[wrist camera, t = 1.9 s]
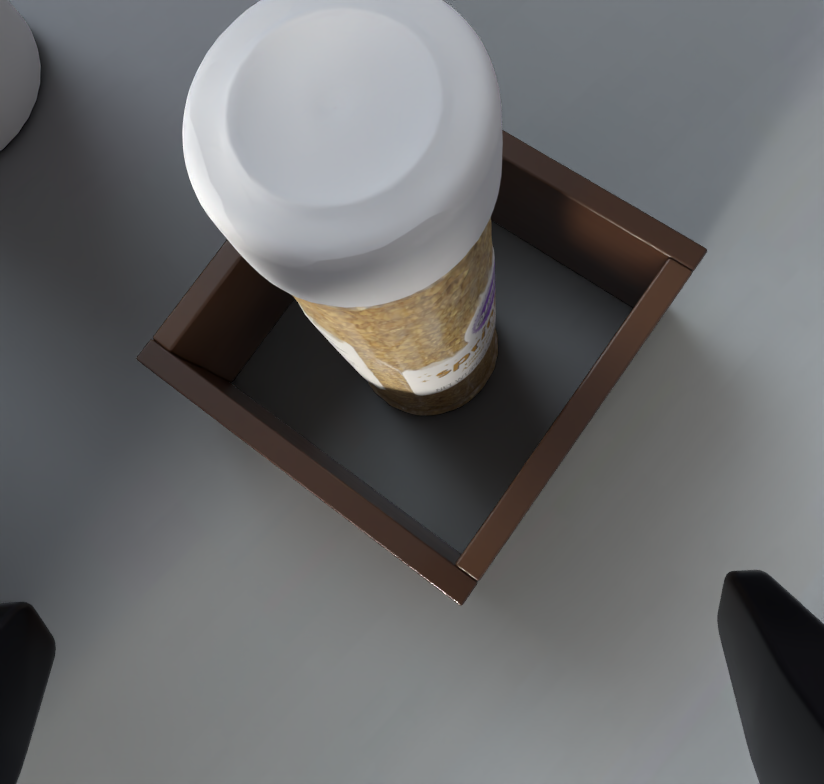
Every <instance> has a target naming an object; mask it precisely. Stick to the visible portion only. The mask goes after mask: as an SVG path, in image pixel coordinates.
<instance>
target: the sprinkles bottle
mask: <svg viewBox="0 0 824 784" xmlns="http://www.w3.org/2000/svg"><path fill="white" fill-rule="evenodd" d="M182 135H183V151H184V159H185V164H186V168H187V171H188V175H189V178H190V182H191V184H192V187H193V189H194V191H195V193H196V195H197V197H198V200H199V202H200V204H201V206H202V207H203V209H204V210H205V212H206V213H207V215H208V216H209V217H210V219H211V220H212V221H213V222H214V224H215V225H216V226H217V227H218V229H219V230H220V231H221V232H222V233H223V235H224V236H225V237H226V238H227V239H228V241H229V242H230V243H231V244H232V245H233V247H234V248H235V249H236V250H237V251H238V252H239V253H240V255H241V256H242V257H243V258H244V259H245V260H246V261H247V262H248V263H249V264H250V265H251V266H252V267H253V268H254V269H255V270H256V271H257V272H258V273H259V274H261V275H262V276H263V277H264V278H265V279H267V280H268V281H269V282H271V283H272V284H273V285H275V286H277V287H279V288H280V289H282V290H284V291H285V292H287V293H289V294H291V295H292V296H293V297H294V298H295V299H296V300H297V302H298V303H299V305H300V307H301V308H302V310H303V312H304V313H305V315H306V316H307V317H308V318H309V320H310V321H311V322H312V323H313V324H314V326H315V327H316V328H317V329H318V330H319V331H320V332H321V333H322V334H323V335H324V336H325V338H326V339H327V340H328V341H329V342H330V343H331V344H332V345H333V346H334V347H335V348H336V350H337V351H338V352H339V353H340V354H341V355H342V356H343V357H344V358H345V359H346V360H347V361H348V362H349V363H350V364H351V365H352V366H353V367H354V369H355V370H356V371H357V372H358V373H359V374H360V375H361V376H362V377H363V378H364V379H366V380H367V381H368V383H369V385H370V387H371V388H372V389H373V390H374V392H375V393H376V394H377V395H379V396H380V397H381V398H383V399H384V400H385V401H386V402H387V403H388V404H389V405H391V406H392V407H395V408H398V409H400V410H402V411H404V412H407V413H410V414H414V415H437V414H442V413H445V412H447V411H451V410H454V409H456V408H458V407H461V406H463V405H464V404H466V403H467V402H469V401H470V400H471V399H472V398H473V397H474V396H475V395H476V394H478V393H479V392H480V391H481V389H482V388H483V387H484V385H485V383H486V382H487V380H488V379H489V377H490V375H491V374H492V372H493V370H494V368H495V363H496V359H497V355H498V336H497V332H496V327H495V321H496V292H495V255H494V248H493V245H492V237H491V214H492V212H493V209H494V206H495V203H496V200H497V196H498V193H499V187H500V181H501V172H502V147H503V138H502V108H501V97H500V91H499V86H498V81H497V77H496V73H495V70H494V67H493V65H492V62H491V59H490V57H489V55H488V53H487V50H486V48H485V46H484V45H483V43H482V41H481V40H480V38H479V36H478V35H477V34H476V32H475V31H474V29H473V28H472V27H471V26H470V25H469V23H468V22H467V21H466V20H465V19H464V18H463V17H462V16H461V15H460V14H459V13H458V12H457V11H456V10H455V9H454V8H452V7H451V6H450V5H448V4H447V3H446V2H444V1H443V0H260V1H259V2H257V3H256V4H254V5H253V6H251V7H250V8H248V9H247V10H246V11H245V12H244V13H243V14H241V15H240V16H239V17H238V18H237V19H236V20H235V21H234V22H233V23H232V24H231V25H230V26H229V27H228V28H227V29H226V30H225V31H224V32H223V33H222V34H221V35H220V36H219V37H218V39H217V40H216V41H215V43H214V44H213V45H212V47H211V48H210V49H209V51H208V52H207V54H206V56H205V58H204V59H203V61H202V63H201V65H200V67H199V68H198V70H197V72H196V75H195V77H194V79H193V82H192V84H191V87H190V90H189V93H188V96H187V101H186V106H185V112H184V117H183V130H182Z"/></svg>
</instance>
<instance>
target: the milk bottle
mask: <svg viewBox="0 0 824 784" xmlns="http://www.w3.org/2000/svg"><path fill="white" fill-rule="evenodd" d="M40 73H41V64H40V59H39V53H38V48H37V45H36V42H35V39H34V37H33V34H32V32H31V30H30V28H29V26H28V24H27V22H26V21H25V19H24V18H23V17H22V16H21V15H20V13H19V12H18V11H17V10H16V9H15V8H14V7H13V5H12V4H11V3H10V2H9V1H8V0H0V151H1V150H2V149H3V148H5V147H6V146H7V144H8V143H9V142H10V141H11V140H12V139H13V138H14V137H15V136H16V135H17V134H18V133H19V131H20V129H21V128H22V126H23V125H24V123H25V122H26V120H27V119H28V118H29V115H30V113H31V111H32V108H33V106H34V104H35V102H36V99H37V94H38V90H39V86H40Z"/></svg>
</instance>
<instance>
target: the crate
mask: <svg viewBox="0 0 824 784" xmlns="http://www.w3.org/2000/svg"><path fill="white" fill-rule="evenodd" d="M502 138H503V147H502V172H501V181H500V187H499V193H498V196H497V200H496V203H495V206H494V209H493V212H492V214H491V220H492V221H494V222H495V223H497V224H499V225H500V226H502V227H504V228H505V229H507V230H508V231H510V232H512V233H513V234H515V235H517V236H518V237H520V238H521V239H523V240H525V241H526V242H528V243H529V244H531V245H533V246H534V247H536V248H538V249H539V250H541V251H542V252H544V253H546V254H547V255H549V256H551V257H552V258H554V259H555V260H557V261H559V262H560V263H562V264H564V265H565V266H567V267H568V268H570V269H572V270H573V271H575V272H577V273H578V274H580V275H581V276H583V277H585V278H586V279H588V280H590V281H591V282H593V283H594V284H596V285H598V286H599V287H601V288H603V289H604V290H606V291H607V292H609V293H611V294H612V295H614V296H616V297H617V298H619V299H620V300H622V301H624V302H625V303H627V304H629V305H630V306H632V307H633V309H632V311H631V312H630V314H629V315H628V317H627V318H626V319H625V321H624V322H623V324H622V325H621V327H620V328H619V329H618V331H617V332H616V334H615V335H614V337H613V338H612V339H611V341H610V342H609V344H608V345H607V347H606V348H605V349H604V351H603V352H602V354H601V355H600V357H599V358H598V360H597V361H596V362H595V364H594V365H593V367H592V368H591V370H590V371H589V372H588V374H587V375H586V377H585V378H584V380H583V381H582V382H581V384H580V385H579V387H578V388H577V390H576V391H575V393H574V394H573V395H572V397H571V398H570V400H569V401H568V403H567V404H566V405H565V407H564V408H563V410H562V411H561V413H560V414H559V415H558V417H557V418H556V420H555V421H554V423H553V424H552V426H551V427H550V428H549V430H548V431H547V433H546V434H545V436H544V437H543V438H542V440H541V441H540V443H539V444H538V446H537V447H536V448H535V450H534V451H533V453H532V454H531V456H530V457H529V458H528V460H527V461H526V463H525V464H524V466H523V467H522V469H521V470H520V471H519V473H518V474H517V476H516V477H515V479H514V480H513V481H512V483H511V484H510V486H509V487H508V489H507V490H506V491H505V493H504V494H503V496H502V497H501V499H500V500H499V502H498V503H497V504H496V506H495V507H494V509H493V510H492V512H491V513H490V514H489V516H488V517H487V519H486V520H485V522H484V523H483V524H482V526H481V527H480V529H479V530H478V532H477V533H476V534H475V536H474V537H473V539H472V540H471V542H470V543H469V545H468V546H467V547H466V549H465V550H464V552H463V553H462V554H460V553H459V552H458V551H456V550H455V549H454V548H452V547H451V546H450V545H448V544H447V543H446V542H444V541H443V540H442V539H440V538H439V537H437V536H436V535H435V534H433V533H432V532H431V531H429V530H428V529H427V528H425V527H424V526H423V525H421V524H420V523H419V522H417V521H416V520H415V519H413V518H412V517H411V516H409V515H408V514H406V513H405V512H404V511H402V510H401V509H400V508H398V507H397V506H396V505H394V504H393V503H392V502H390V501H389V500H388V499H386V498H385V497H384V496H382V495H381V494H379V493H378V492H377V491H375V490H374V489H373V488H371V487H370V486H369V485H367V484H366V483H365V482H363V481H362V480H361V479H359V478H358V477H357V476H355V475H354V474H353V473H351V472H350V471H348V470H347V469H346V468H344V467H343V466H342V465H340V464H339V463H338V462H336V461H335V460H334V459H332V458H331V457H330V456H328V455H327V454H326V453H324V452H323V451H322V450H320V449H319V448H317V447H316V446H315V445H313V444H312V443H311V442H309V441H308V440H307V439H305V438H304V437H303V436H301V435H300V434H299V433H297V432H296V431H295V430H293V429H292V428H290V427H289V426H288V425H286V424H285V423H284V422H282V421H281V420H280V419H278V418H277V417H276V416H274V415H273V414H272V413H270V412H269V411H268V410H266V409H265V408H264V407H262V406H261V405H259V404H258V403H257V402H255V401H254V400H253V399H251V398H250V397H249V396H247V395H246V394H245V393H243V392H242V391H241V390H239V389H238V388H237V387H235V386H234V385H233V384H231V383H230V382H232V381H233V380H234V379H235V377H236V376H237V375H238V373H239V372H240V371H241V369H242V368H243V367H244V365H245V364H246V363H247V361H248V360H249V359H250V357H251V356H252V355H253V353H254V352H255V350H256V349H257V348H258V346H259V345H260V344H261V342H262V341H263V340H264V338H265V337H266V336H267V334H268V333H269V332H270V330H271V329H272V328H273V326H274V325H275V324H276V322H277V321H278V320H279V318H280V317H281V316H282V314H283V313H284V312H285V310H286V309H287V308H288V306H289V305H290V304H291V302H292V301H293V300H294V297H293V296H292V295H291V294H289V293H287V292H285V291H284V290H282V289H280V288H279V287H277V286H275V285H273V284H272V283H271V282H269V281H268V280H267V279H265V278H264V277H263V276H262V275H261V274H259V273H258V272H257V271H256V270H255V269H254V268H253V267H252V266H251V265H250V264H249V263H248V262H247V261H246V260H245V259H244V258H243V257H242V256H241V255H240V253H239V252H238V251H237V250H236V249H235V248H234V247H233V245H232V244H231V243H230V242H229V241H228V239H227V240H226V242H225V243H224V244H223V245H222V247H221V248H220V249H219V251H218V252H217V253H216V255H215V256H214V257H213V259H212V260H211V261H210V263H209V264H208V265H207V267H206V268H205V269H204V270H203V272H202V273H201V274H200V276H199V277H198V278H197V280H196V281H195V282H194V284H193V285H192V286H191V288H190V289H189V290H188V291H187V293H186V294H185V295H184V297H183V298H182V299H181V301H180V302H179V303H178V305H177V306H176V307H175V309H174V310H173V311H172V312H171V314H170V315H169V316H168V318H167V319H166V320H165V322H164V323H163V324H162V326H161V327H160V328H159V330H158V331H157V332H156V333H155V335H154V336H153V339H154V340H152V339H151V340H150V341H149V342H148V343H147V345H146V346H145V347H144V349H143V350H142V351H141V353H140V354H139V355H138V356H137V358H136V359H137V360H138V361H139V362H140V363H142V364H143V365H144V366H145V367H147V368H148V369H149V370H151V371H152V372H153V373H155V374H156V375H157V376H159V377H160V378H161V379H163V380H164V381H165V382H166V383H168V384H169V385H170V386H172V387H173V388H174V389H176V390H177V391H178V392H180V393H181V394H182V395H184V396H185V397H186V398H188V399H189V400H190V401H191V402H193V403H194V404H195V405H197V406H198V407H199V408H201V409H202V410H203V411H205V412H206V413H207V414H209V415H210V416H211V417H213V418H214V419H215V420H216V421H218V422H219V423H220V424H222V425H223V426H224V427H226V428H227V429H228V430H230V431H231V432H232V433H234V434H235V435H236V436H238V437H239V438H240V439H241V440H243V441H244V442H245V443H247V444H248V445H249V446H251V447H252V448H253V449H255V450H256V451H257V452H259V453H260V454H261V455H263V456H264V457H265V458H266V459H268V460H269V461H270V462H272V463H273V464H274V465H276V466H277V467H278V468H280V469H281V470H282V471H284V472H285V473H286V474H288V475H289V476H290V477H291V478H293V479H294V480H295V481H297V482H298V483H299V484H301V485H302V486H303V487H305V488H306V489H307V490H309V491H310V492H311V493H313V494H314V495H315V496H316V497H318V498H319V499H320V500H322V501H323V502H324V503H326V504H327V505H328V506H330V507H331V508H332V509H334V510H335V511H336V512H338V513H339V514H340V515H341V516H343V517H344V518H345V519H347V520H348V521H349V522H351V523H352V524H353V525H355V526H356V527H357V528H359V529H360V530H361V531H362V532H364V533H365V534H366V535H368V536H369V537H370V538H372V539H373V540H374V541H376V542H377V543H378V544H380V545H381V546H382V547H384V548H385V549H386V550H387V551H389V552H390V553H391V554H393V555H394V556H395V557H397V558H398V559H399V560H401V561H402V562H403V563H405V564H406V565H407V566H409V567H410V568H411V569H412V570H414V571H415V572H416V573H418V574H419V575H420V576H422V577H423V578H424V579H426V580H427V581H428V582H430V583H431V584H432V585H434V586H435V587H436V588H437V589H439V590H440V591H441V592H443V593H444V594H445V595H447V596H448V597H449V598H451V599H452V600H453V601H455V602H456V603H457V604H459V605H463V604H464V602H465V601H466V599H467V598H468V596H469V595H470V593H471V592H472V591H473V589H474V588H475V586H476V585H477V582H478V581H479V580H480V579H481V578H482V576H483V575H484V573H485V572H486V570H487V569H488V567H489V566H490V565H491V563H492V562H493V560H494V559H495V557H496V556H497V554H498V553H499V552H500V550H501V549H502V547H503V546H504V544H505V543H506V541H507V540H508V539H509V537H510V536H511V534H512V533H513V531H514V530H515V528H516V527H517V526H518V524H519V523H520V521H521V520H522V518H523V517H524V515H525V514H526V513H527V511H528V510H529V508H530V507H531V505H532V504H533V502H534V501H535V500H536V498H537V497H538V495H539V494H540V492H541V491H542V489H543V488H544V487H545V485H546V484H547V482H548V481H549V479H550V478H551V476H552V475H553V474H554V472H555V471H556V469H557V468H558V466H559V465H560V463H561V462H562V461H563V459H564V458H565V456H566V455H567V453H568V452H569V450H570V449H571V448H572V446H573V445H574V443H575V442H576V440H577V439H578V438H579V436H580V435H581V433H582V432H583V430H584V429H585V427H586V426H587V425H588V423H589V422H590V420H591V419H592V417H593V416H594V414H595V413H596V412H597V410H598V409H599V407H600V406H601V404H602V403H603V401H604V400H605V399H606V397H607V396H608V394H609V393H610V391H611V390H612V388H613V387H614V386H615V384H616V383H617V381H618V380H619V378H620V377H621V375H622V374H623V373H624V371H625V370H626V368H627V367H628V365H629V364H630V362H631V361H632V360H633V358H634V357H635V355H636V354H637V352H638V351H639V349H640V348H641V347H642V345H643V344H644V342H645V341H646V339H647V338H648V336H649V335H650V334H651V332H652V331H653V329H654V328H655V326H656V325H657V323H658V322H659V321H660V319H661V318H662V316H663V315H664V313H665V312H666V310H667V309H668V308H669V306H670V305H671V303H672V302H673V300H674V299H675V297H676V296H677V295H678V293H679V292H680V290H681V289H682V287H683V286H684V284H685V283H686V282H687V280H688V279H689V277H690V276H691V274H692V272H693V271H694V270H695V269H696V267H697V266H698V264H699V263H700V261H701V260H702V258H703V257H704V256H705V254H706V253H707V249H706V248H704V247H703V246H701V245H699V244H698V243H696V242H694V241H692V240H691V239H689V238H687V237H686V236H684V235H682V234H680V233H679V232H677V231H675V230H674V229H672V228H670V227H668V226H667V225H665V224H663V223H661V222H660V221H658V220H656V219H655V218H653V217H651V216H649V215H648V214H646V213H644V212H643V211H641V210H639V209H637V208H636V207H634V206H632V205H631V204H629V203H627V202H625V201H624V200H622V199H620V198H619V197H617V196H615V195H613V194H612V193H610V192H608V191H606V190H605V189H603V188H601V187H600V186H598V185H596V184H594V183H593V182H591V181H589V180H588V179H586V178H584V177H582V176H581V175H579V174H577V173H576V172H574V171H572V170H570V169H569V168H567V167H565V166H564V165H562V164H560V163H558V162H557V161H555V160H553V159H552V158H550V157H548V156H546V155H545V154H543V153H541V152H539V151H538V150H536V149H534V148H533V147H531V146H529V145H527V144H526V143H524V142H522V141H521V140H519V139H517V138H515V137H514V136H512V135H510V134H509V133H507V132H505V131H503V130H502Z"/></svg>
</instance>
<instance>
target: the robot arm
mask: <svg viewBox="0 0 824 784" xmlns="http://www.w3.org/2000/svg"><path fill="white" fill-rule="evenodd" d="M717 621H718V630H719V635H720V639H721V643H722V647H723V651H724V655H725V659H726V663H727V666H728V670H729V674H730V678H731V682H732V686H733V690H734V694H735V698H736V702H737V706H738V710H739V714H740V718H741V722H742V726H743V730H744V734H745V738H746V741H747V745H748V749H749V752H750V756H751V760H752V762H753V765H754V768H755V771H756V774H757V777H758V780H759V783H760V784H824V624H823V623H822V622H821V621H820V620H819V619H818V618H816V617H815V616H814V615H813V614H812V613H811V612H810V611H809V610H808V609H807V608H805V607H804V606H803V605H802V604H801V603H800V602H799V601H798V600H797V599H795V598H794V597H793V596H792V595H791V594H790V593H789V592H788V591H787V590H785V589H784V588H783V587H782V586H781V585H780V584H779V583H778V582H777V581H776V580H774V579H773V578H772V577H771V576H770V575H769V574H767V573H765V572H763V571H761V570H745V571H731V572H729V573H728V574H727V575H726V577H725V580H724V584H723V589H722V594H721V599H720V604H719V610H718V617H717ZM55 650H56V647H55V640H54V638H53V636H52V634H51V633H50V631H49V630H48V628H47V627H46V625H45V624H44V622H43V621H42V619H41V618H40V616H39V615H38V613H37V612H36V610H35V609H34V607H33V606H32V605H31V604H29V603H27V602H9V603H0V784H16V782H17V780H18V777H19V774H20V772H21V769H22V766H23V762H24V759H25V756H26V753H27V750H28V747H29V743H30V740H31V736H32V733H33V730H34V726H35V723H36V719H37V716H38V712H39V709H40V706H41V702H42V699H43V695H44V692H45V689H46V685H47V682H48V678H49V675H50V671H51V668H52V665H53V661H54V657H55Z"/></svg>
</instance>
